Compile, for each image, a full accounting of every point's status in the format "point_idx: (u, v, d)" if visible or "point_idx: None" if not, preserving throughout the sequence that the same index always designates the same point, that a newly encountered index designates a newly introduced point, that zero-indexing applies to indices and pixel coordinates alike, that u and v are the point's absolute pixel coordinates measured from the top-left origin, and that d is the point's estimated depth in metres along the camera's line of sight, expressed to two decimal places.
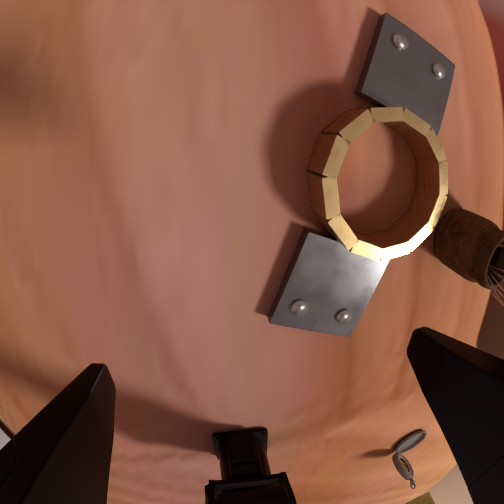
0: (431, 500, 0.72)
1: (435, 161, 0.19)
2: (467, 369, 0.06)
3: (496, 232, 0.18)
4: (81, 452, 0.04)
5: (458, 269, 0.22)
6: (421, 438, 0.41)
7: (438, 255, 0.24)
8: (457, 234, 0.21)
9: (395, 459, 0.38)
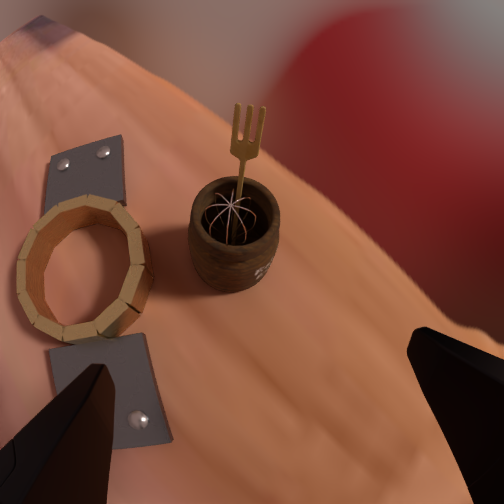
0: None
1: (109, 213, 0.21)
2: (467, 369, 0.06)
3: None
4: (81, 452, 0.04)
5: (217, 276, 0.18)
6: None
7: (217, 288, 0.21)
8: None
9: None
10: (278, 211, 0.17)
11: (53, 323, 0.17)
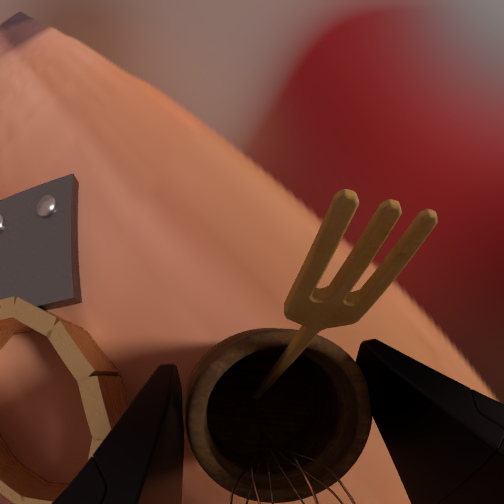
0: None
1: (49, 336, 0.11)
2: (412, 392, 0.05)
3: (203, 365, 0.08)
4: (167, 459, 0.05)
5: None
6: None
7: None
8: None
9: None
10: (370, 407, 0.07)
11: (8, 488, 0.07)
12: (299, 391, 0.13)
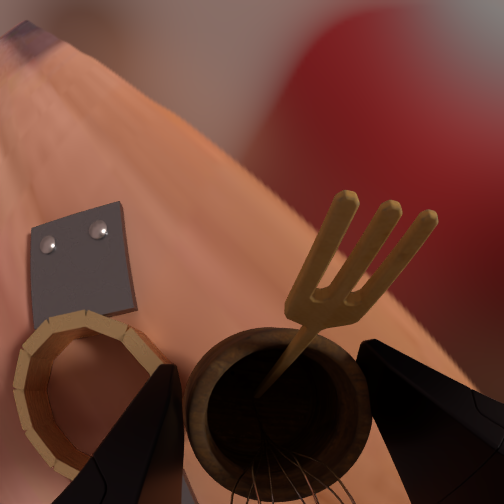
0: None
1: (120, 340, 0.15)
2: (412, 392, 0.05)
3: (204, 365, 0.08)
4: (167, 459, 0.05)
5: None
6: None
7: None
8: None
9: None
10: None
11: (77, 471, 0.11)
12: (299, 390, 0.13)
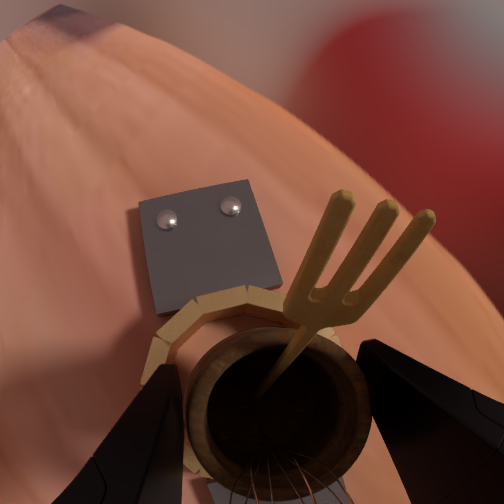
0: None
1: None
2: (412, 392, 0.05)
3: (203, 364, 0.08)
4: (167, 459, 0.05)
5: None
6: None
7: None
8: None
9: None
10: (370, 407, 0.07)
11: None
12: (300, 390, 0.13)
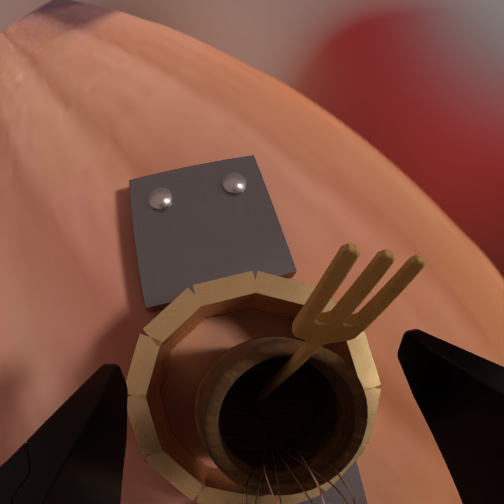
0: None
1: None
2: (458, 373, 0.06)
3: (216, 373, 0.09)
4: (96, 454, 0.04)
5: None
6: None
7: None
8: None
9: None
10: (366, 410, 0.08)
11: (239, 495, 0.09)
12: (300, 392, 0.14)
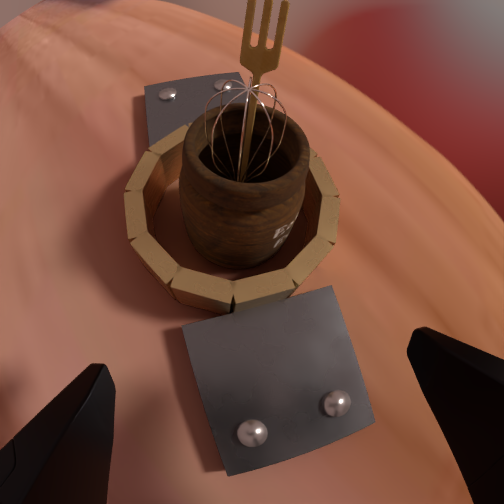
0: None
1: None
2: (467, 369, 0.06)
3: None
4: (81, 452, 0.04)
5: (220, 238, 0.13)
6: None
7: (218, 263, 0.16)
8: None
9: None
10: (307, 142, 0.11)
11: (212, 277, 0.13)
12: None
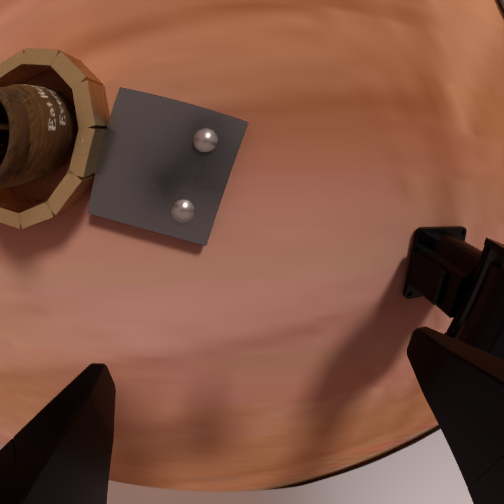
0: None
1: None
2: (467, 369, 0.06)
3: None
4: (81, 452, 0.04)
5: (39, 170, 0.13)
6: None
7: (60, 163, 0.15)
8: None
9: None
10: None
11: (61, 184, 0.14)
12: None
